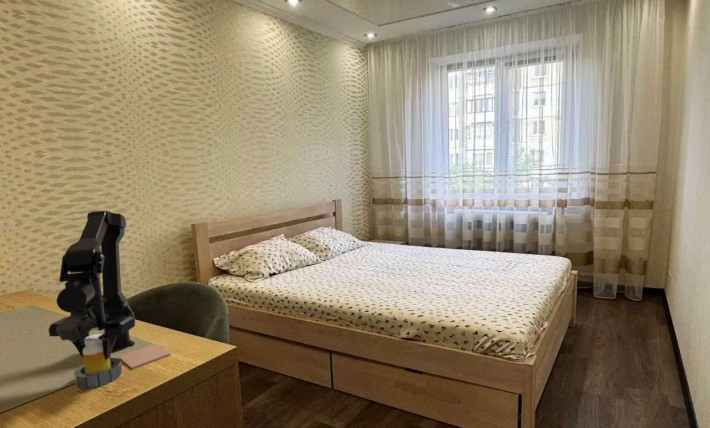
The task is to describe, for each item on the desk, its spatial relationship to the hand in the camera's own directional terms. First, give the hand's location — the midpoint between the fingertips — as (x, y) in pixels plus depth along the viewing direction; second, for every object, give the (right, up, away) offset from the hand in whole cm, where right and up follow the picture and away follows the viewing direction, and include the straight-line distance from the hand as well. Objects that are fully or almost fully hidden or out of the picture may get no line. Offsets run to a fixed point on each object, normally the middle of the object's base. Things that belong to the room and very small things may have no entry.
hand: (96, 358), depth 102 cm
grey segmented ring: (0, -5, +1) cm, 5 cm away
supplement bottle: (0, -4, +1) cm, 4 cm away
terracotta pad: (+6, -3, +11) cm, 13 cm away
